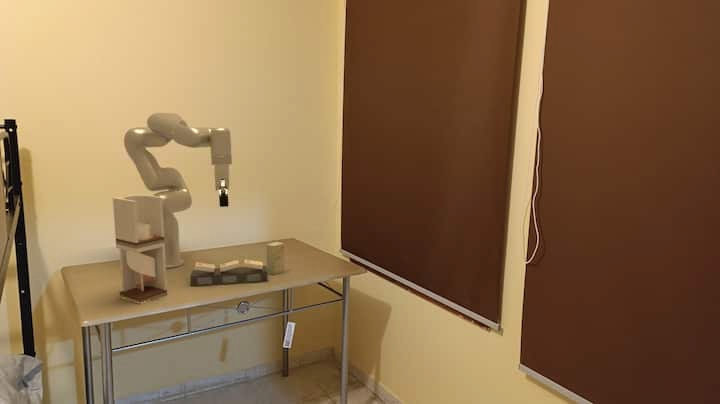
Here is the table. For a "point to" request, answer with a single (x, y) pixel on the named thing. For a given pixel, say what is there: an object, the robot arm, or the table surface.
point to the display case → (141, 246)
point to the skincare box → (275, 258)
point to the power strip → (228, 276)
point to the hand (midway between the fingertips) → (224, 204)
